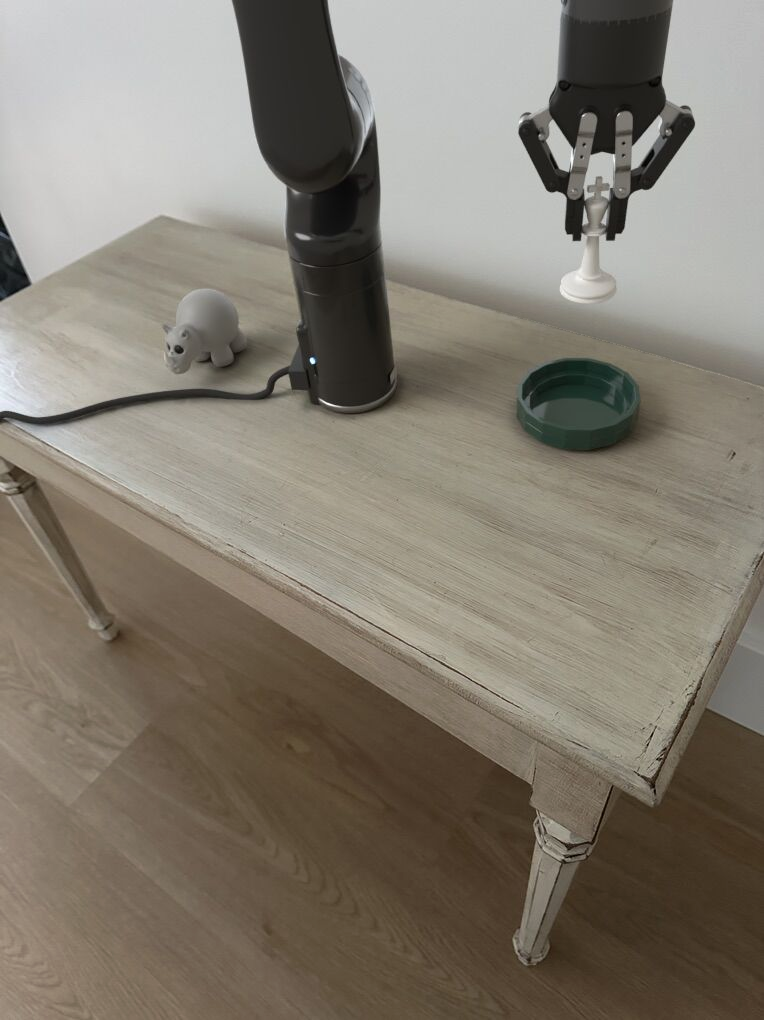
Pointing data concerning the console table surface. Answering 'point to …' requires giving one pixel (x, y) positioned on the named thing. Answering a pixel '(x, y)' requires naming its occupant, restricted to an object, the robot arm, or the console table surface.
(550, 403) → the dish
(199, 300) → the chubby cartoon animal
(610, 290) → the chess piece
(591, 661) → the console table surface
